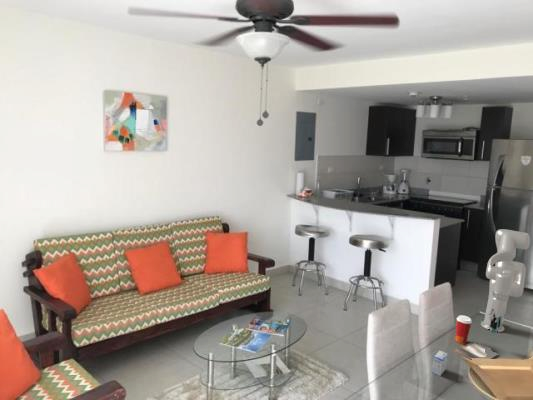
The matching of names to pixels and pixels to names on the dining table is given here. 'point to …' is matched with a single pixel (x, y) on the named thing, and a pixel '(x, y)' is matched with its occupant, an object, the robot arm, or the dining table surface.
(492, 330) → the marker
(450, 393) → the dining table surface
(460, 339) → the paper cup
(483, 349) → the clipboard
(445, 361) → the medicine box
